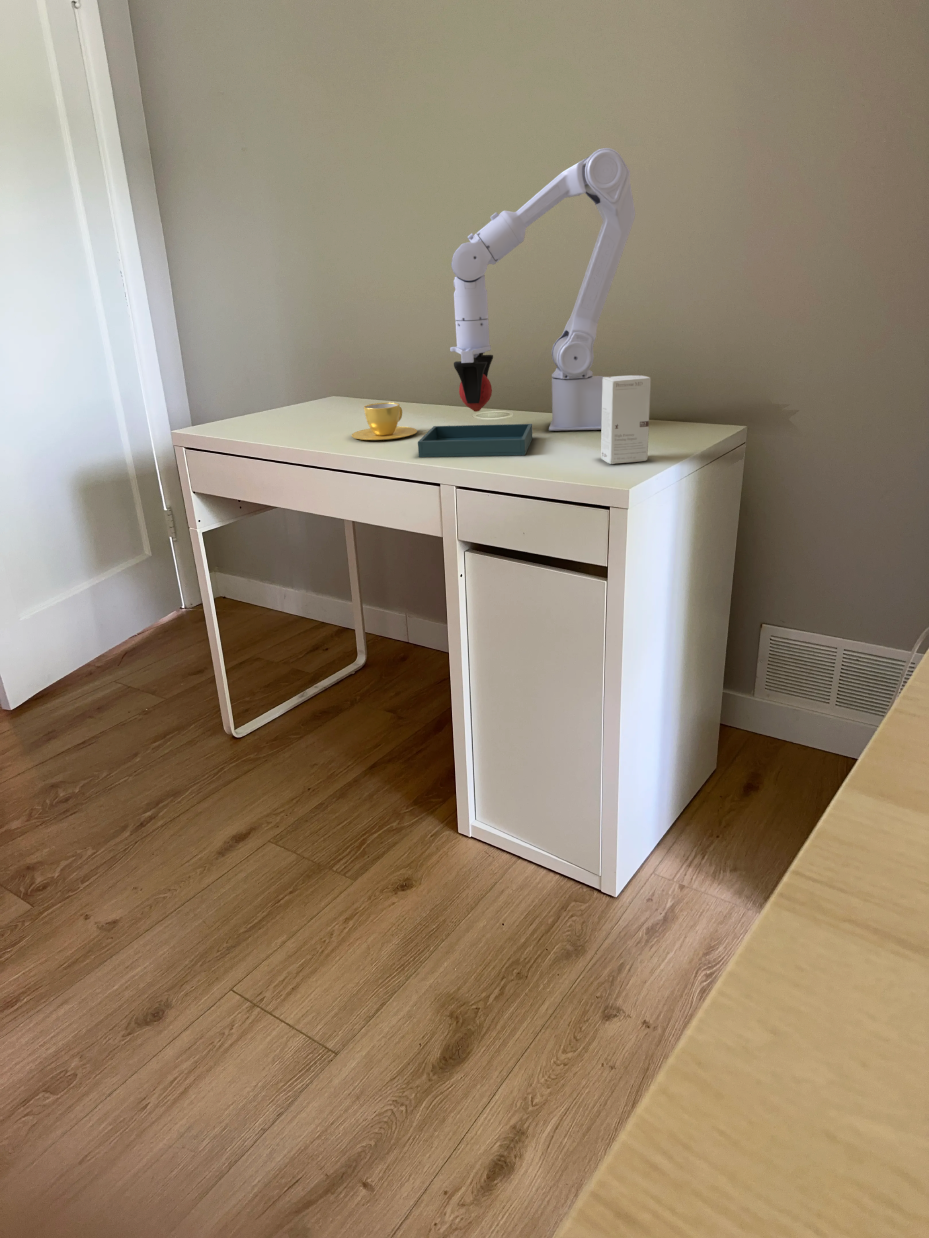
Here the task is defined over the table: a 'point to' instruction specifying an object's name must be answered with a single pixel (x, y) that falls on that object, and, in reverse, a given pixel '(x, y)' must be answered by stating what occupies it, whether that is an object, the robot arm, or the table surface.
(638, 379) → the cosmetic box
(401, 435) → the cup
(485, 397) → the onion
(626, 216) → the robot arm
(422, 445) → the tray
